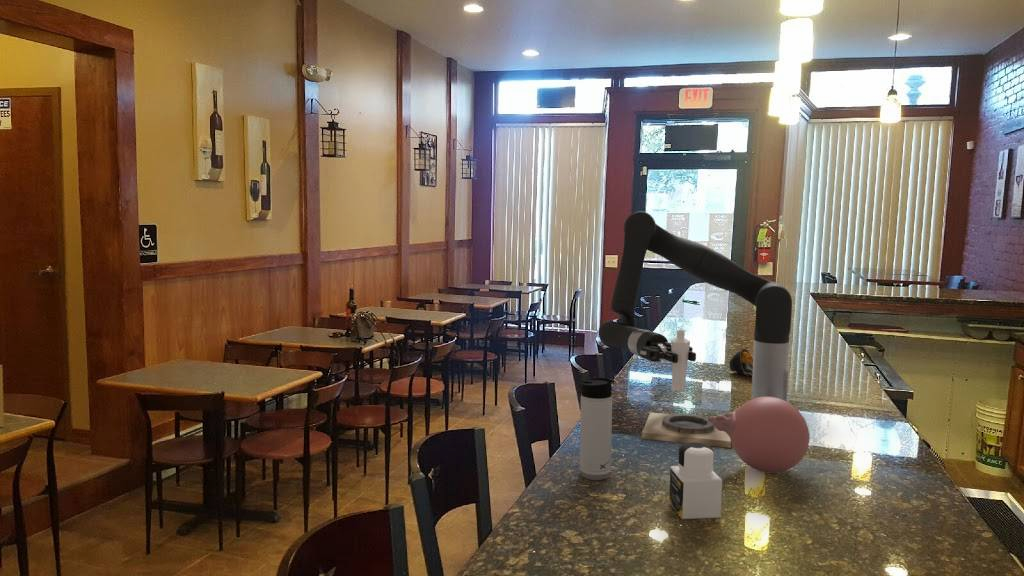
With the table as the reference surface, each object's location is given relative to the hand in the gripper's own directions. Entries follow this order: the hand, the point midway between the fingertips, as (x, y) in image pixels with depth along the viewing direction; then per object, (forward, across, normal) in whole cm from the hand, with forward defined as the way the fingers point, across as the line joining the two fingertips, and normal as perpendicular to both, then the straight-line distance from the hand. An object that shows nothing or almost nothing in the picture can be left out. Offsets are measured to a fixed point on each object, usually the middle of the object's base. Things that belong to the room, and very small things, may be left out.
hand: (685, 358), depth 168 cm
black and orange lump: (-36, +53, +18) cm, 67 cm away
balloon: (+28, -2, +18) cm, 33 cm away
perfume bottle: (-3, 0, +9) cm, 9 cm away
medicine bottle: (+40, -26, +18) cm, 51 cm away
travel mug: (+19, -34, +18) cm, 43 cm away
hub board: (+3, -1, +18) cm, 18 cm away
